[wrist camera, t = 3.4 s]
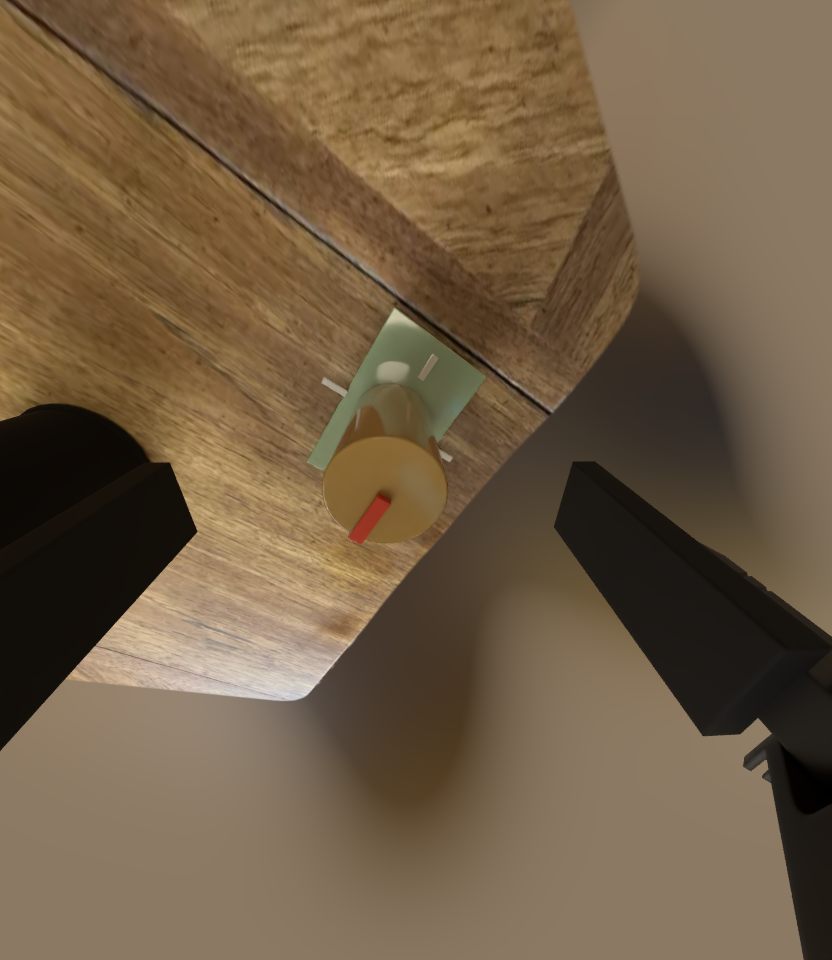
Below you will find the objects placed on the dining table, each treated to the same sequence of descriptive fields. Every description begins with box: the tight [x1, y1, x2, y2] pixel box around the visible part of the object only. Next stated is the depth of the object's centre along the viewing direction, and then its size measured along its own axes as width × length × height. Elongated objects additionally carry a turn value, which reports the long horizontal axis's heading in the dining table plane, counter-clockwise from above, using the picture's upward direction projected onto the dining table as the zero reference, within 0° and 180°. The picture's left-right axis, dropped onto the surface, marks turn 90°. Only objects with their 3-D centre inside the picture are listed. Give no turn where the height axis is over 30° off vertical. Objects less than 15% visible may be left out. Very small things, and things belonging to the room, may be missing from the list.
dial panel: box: [307, 307, 486, 471], centre depth 19 cm, size 10×9×3 cm
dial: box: [322, 383, 448, 544], centre depth 14 cm, size 4×4×8 cm
